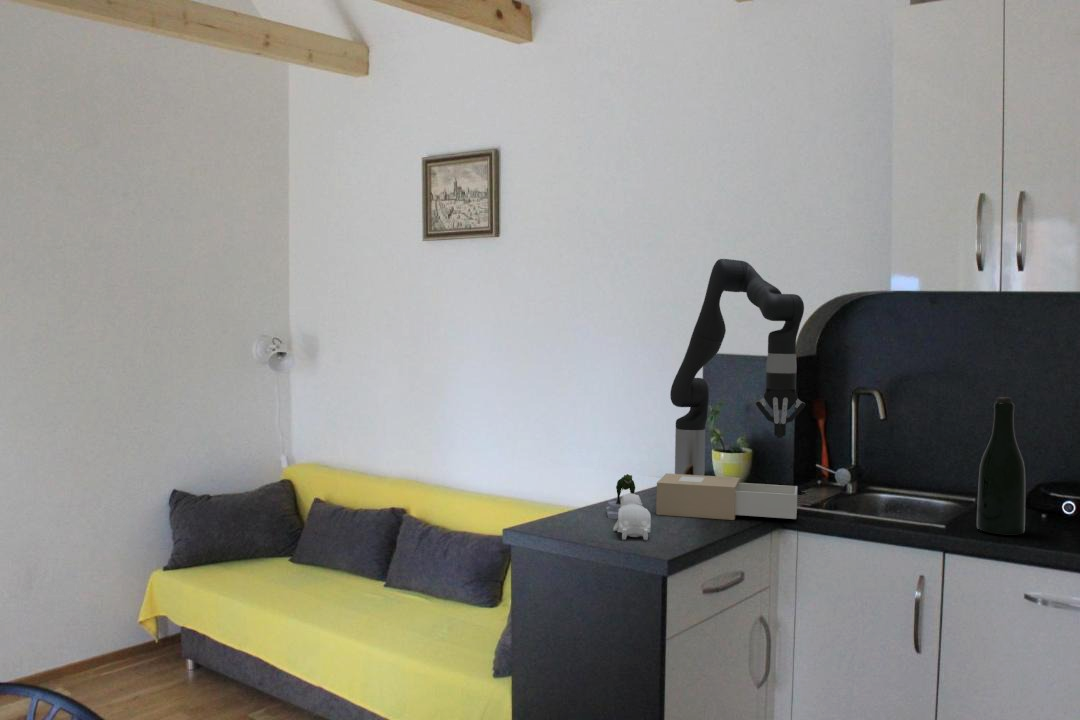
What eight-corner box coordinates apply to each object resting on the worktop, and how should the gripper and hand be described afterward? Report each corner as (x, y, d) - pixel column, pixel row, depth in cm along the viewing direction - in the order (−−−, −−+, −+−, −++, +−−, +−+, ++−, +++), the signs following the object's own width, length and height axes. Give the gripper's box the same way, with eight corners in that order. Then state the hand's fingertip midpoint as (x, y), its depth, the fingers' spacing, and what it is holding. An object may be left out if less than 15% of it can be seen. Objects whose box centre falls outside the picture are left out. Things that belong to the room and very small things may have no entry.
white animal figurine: (652, 552, 211) (646, 515, 225) (654, 520, 208) (648, 486, 222) (615, 551, 211) (611, 515, 225) (617, 520, 208) (612, 485, 222)
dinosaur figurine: (609, 522, 229) (610, 475, 229) (604, 506, 249) (605, 463, 249) (646, 522, 229) (647, 476, 229) (638, 507, 249) (639, 464, 249)
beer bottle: (987, 525, 230) (991, 394, 229) (1031, 533, 223) (1036, 397, 221) (968, 531, 224) (972, 396, 223) (1013, 539, 216) (1017, 399, 215)
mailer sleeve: (665, 503, 254) (666, 473, 254) (739, 508, 249) (739, 477, 248) (656, 514, 239) (656, 482, 239) (734, 520, 233) (735, 486, 233)
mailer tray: (723, 504, 249) (724, 481, 248) (796, 509, 243) (797, 486, 243) (718, 513, 236) (719, 490, 235) (796, 519, 230) (796, 495, 230)
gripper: (808, 371, 238) (806, 437, 239) (755, 369, 242) (754, 435, 243) (807, 372, 231) (806, 440, 232) (754, 371, 235) (752, 438, 235)
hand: (779, 437), depth 237 cm, fingers closed
